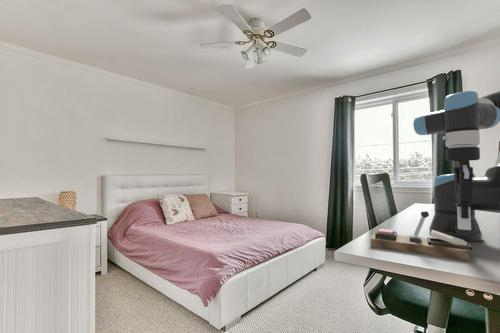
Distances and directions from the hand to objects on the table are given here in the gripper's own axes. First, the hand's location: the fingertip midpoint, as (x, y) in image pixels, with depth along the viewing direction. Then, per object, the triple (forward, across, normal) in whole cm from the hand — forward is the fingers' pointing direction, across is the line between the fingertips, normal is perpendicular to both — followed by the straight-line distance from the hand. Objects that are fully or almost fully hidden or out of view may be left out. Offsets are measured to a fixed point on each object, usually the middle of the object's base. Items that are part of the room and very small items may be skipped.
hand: (464, 229), depth 72 cm
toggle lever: (+3, 0, -12) cm, 12 cm away
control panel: (+7, +1, -12) cm, 14 cm away
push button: (+5, 0, -20) cm, 20 cm away
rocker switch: (+3, 0, -4) cm, 5 cm away
